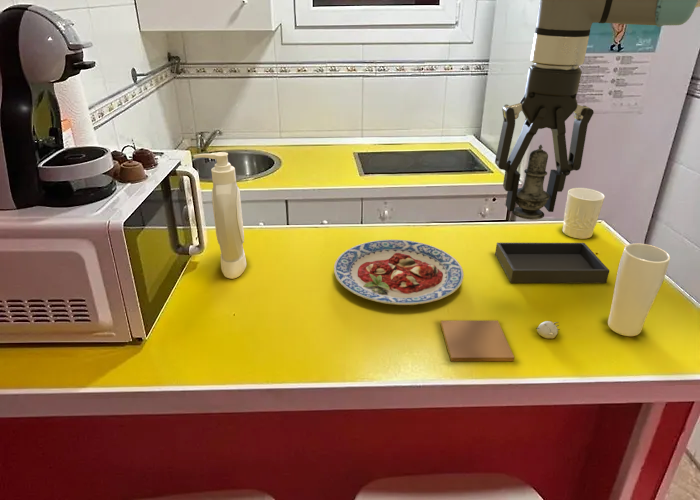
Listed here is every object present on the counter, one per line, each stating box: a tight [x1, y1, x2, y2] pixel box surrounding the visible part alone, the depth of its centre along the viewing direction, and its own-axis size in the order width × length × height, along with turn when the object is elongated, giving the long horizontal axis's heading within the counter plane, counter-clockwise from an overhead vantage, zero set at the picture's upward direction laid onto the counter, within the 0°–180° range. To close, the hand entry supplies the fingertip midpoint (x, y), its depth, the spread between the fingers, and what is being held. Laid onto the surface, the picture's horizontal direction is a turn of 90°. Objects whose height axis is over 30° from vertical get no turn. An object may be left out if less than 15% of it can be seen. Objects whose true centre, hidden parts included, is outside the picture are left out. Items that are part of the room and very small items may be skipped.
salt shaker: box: [511, 144, 550, 221], centre depth 86 cm, size 6×6×12 cm
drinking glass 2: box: [607, 242, 671, 337], centre depth 87 cm, size 7×7×15 cm
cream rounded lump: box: [535, 320, 561, 339], centre depth 88 cm, size 3×4×3 cm
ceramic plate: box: [333, 239, 465, 306], centre depth 104 cm, size 26×26×3 cm
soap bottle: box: [193, 151, 248, 280], centre depth 102 cm, size 13×8×24 cm, turn 7°
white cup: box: [561, 187, 606, 240], centre depth 122 cm, size 8×8×10 cm
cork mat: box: [440, 320, 515, 362], centre depth 86 cm, size 10×10×1 cm
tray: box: [494, 242, 611, 284], centre depth 108 cm, size 19×12×3 cm, turn 91°
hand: (529, 208), depth 88 cm, fingers closed on salt shaker, 6 cm apart
